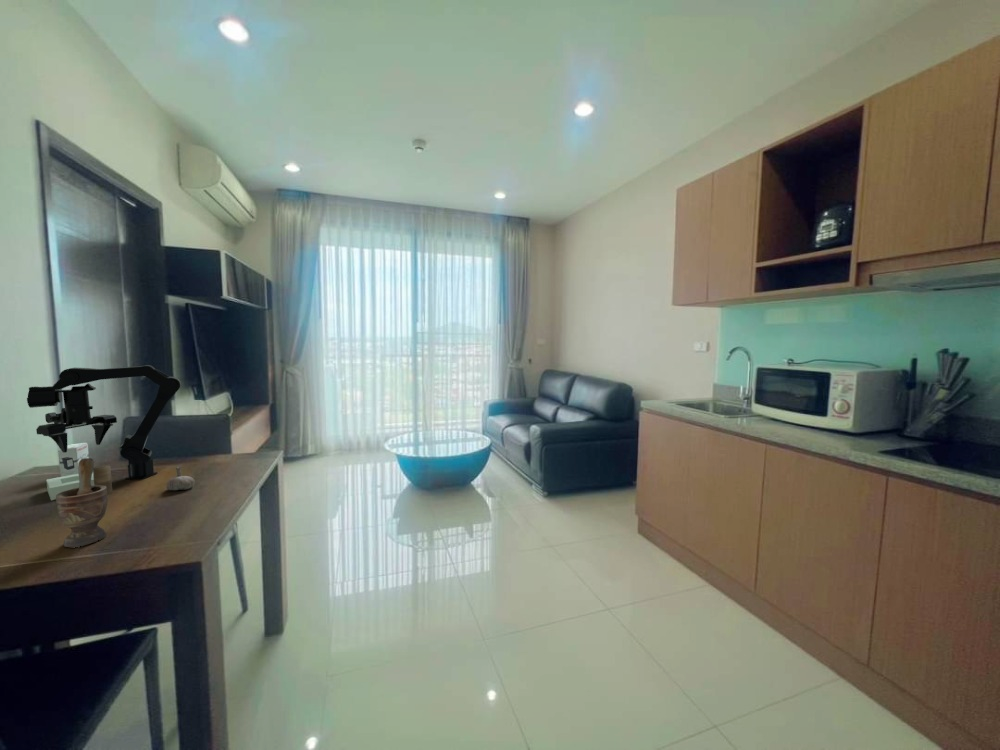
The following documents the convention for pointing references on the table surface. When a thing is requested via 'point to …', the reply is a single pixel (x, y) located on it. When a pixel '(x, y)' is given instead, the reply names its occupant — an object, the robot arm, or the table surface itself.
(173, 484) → the garlic bulb
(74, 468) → the ink box
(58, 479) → the socket block
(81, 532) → the mortar and pestle
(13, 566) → the table surface
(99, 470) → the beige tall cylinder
